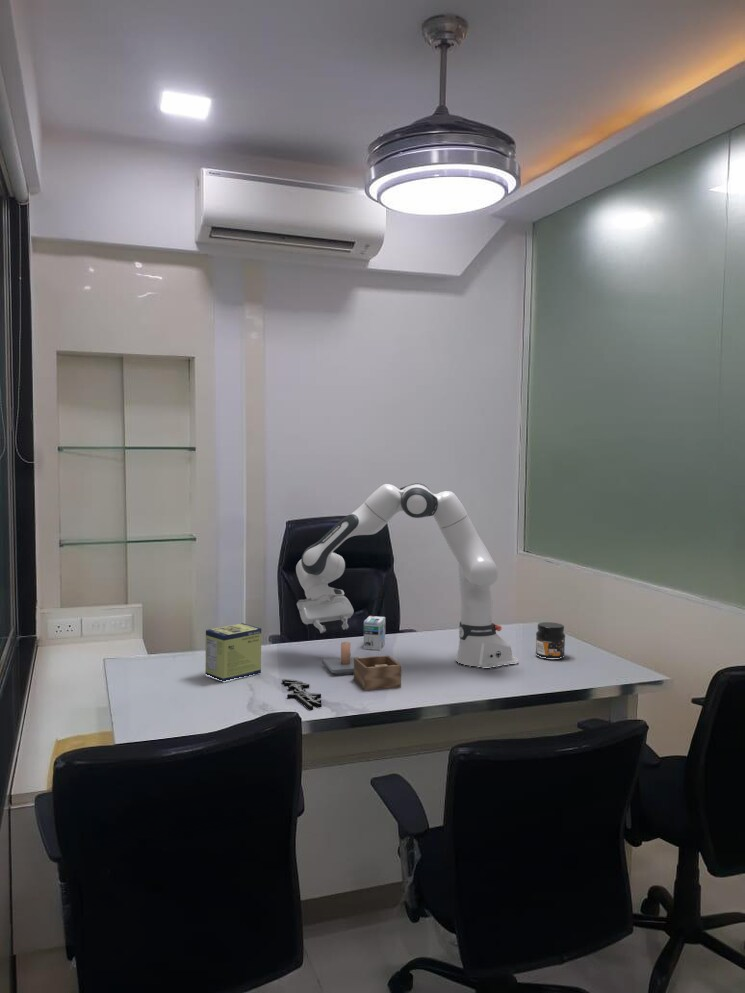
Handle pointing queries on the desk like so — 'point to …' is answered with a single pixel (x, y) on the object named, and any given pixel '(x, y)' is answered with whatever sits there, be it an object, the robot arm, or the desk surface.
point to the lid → (341, 661)
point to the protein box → (233, 651)
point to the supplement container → (550, 640)
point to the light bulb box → (374, 633)
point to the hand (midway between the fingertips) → (335, 630)
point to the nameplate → (302, 693)
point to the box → (377, 672)
